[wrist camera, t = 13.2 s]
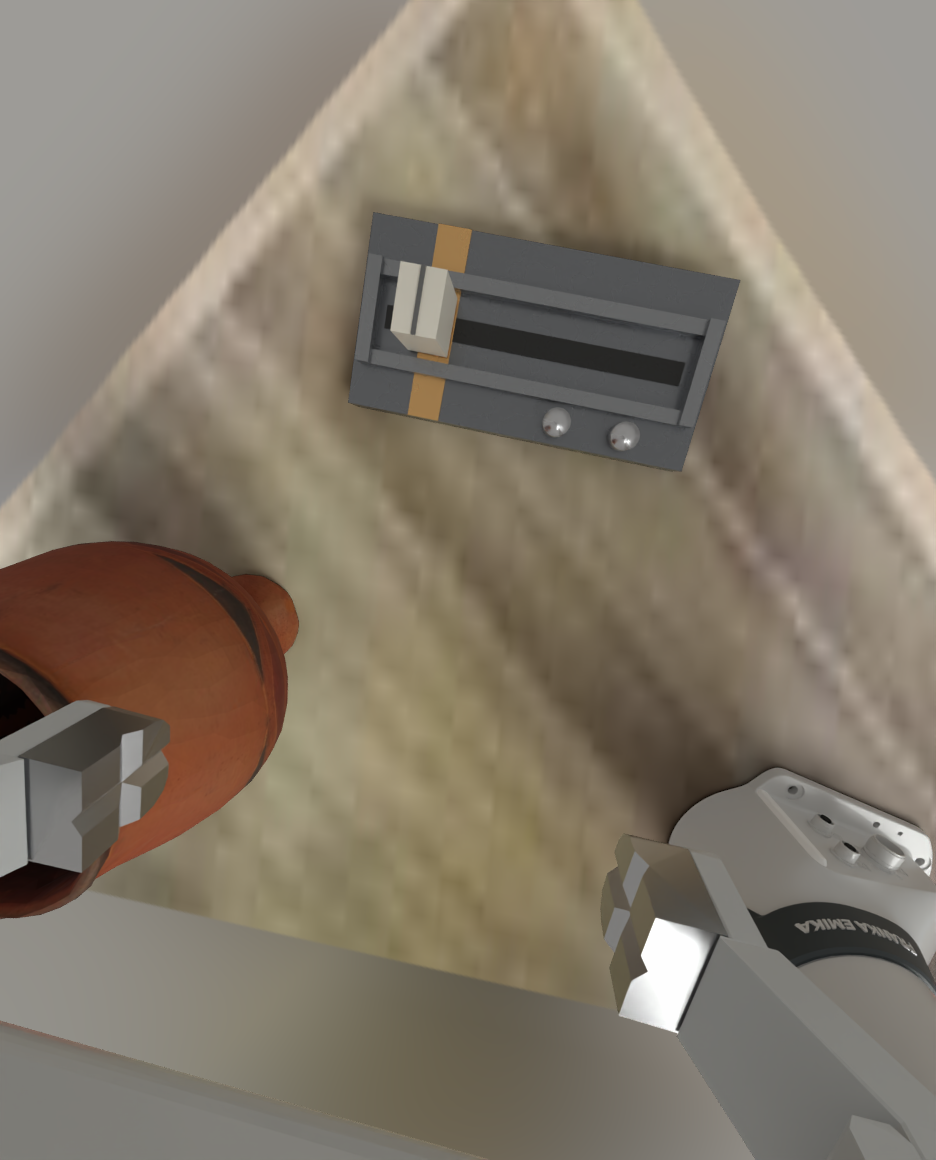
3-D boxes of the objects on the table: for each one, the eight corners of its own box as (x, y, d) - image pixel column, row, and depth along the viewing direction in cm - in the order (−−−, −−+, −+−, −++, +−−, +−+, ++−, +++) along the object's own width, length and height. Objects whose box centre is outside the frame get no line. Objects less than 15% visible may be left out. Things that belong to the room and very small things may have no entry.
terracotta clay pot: (394, 651, 44) (242, 875, 19) (242, 741, 48) (-42, 1021, 23) (272, 473, 41) (-81, 477, 17) (121, 584, 45) (-340, 718, 21)
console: (724, 293, 34) (751, 271, 31) (670, 471, 38) (688, 471, 34) (383, 229, 36) (367, 200, 32) (358, 406, 39) (341, 399, 35)
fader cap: (457, 298, 34) (447, 268, 29) (446, 357, 35) (435, 338, 30) (417, 290, 34) (400, 260, 29) (407, 349, 35) (389, 329, 30)
